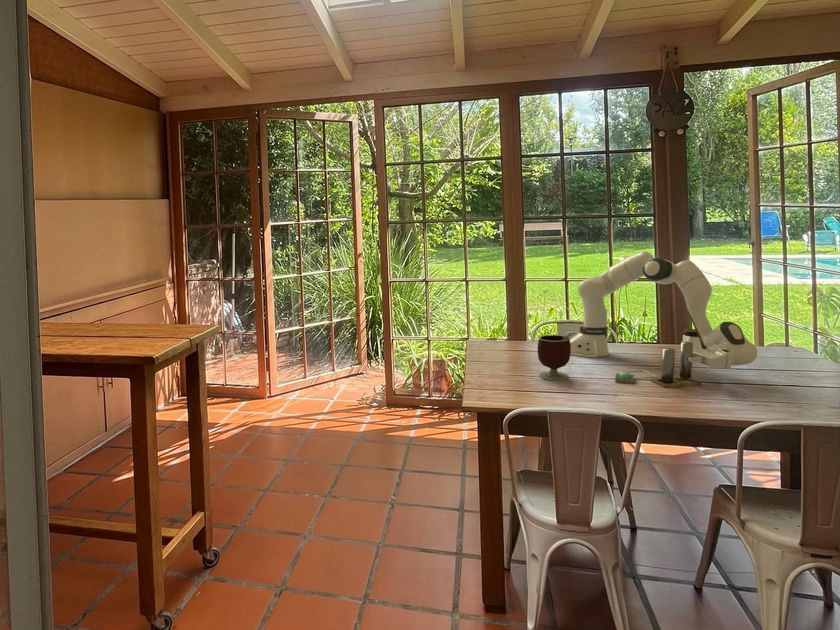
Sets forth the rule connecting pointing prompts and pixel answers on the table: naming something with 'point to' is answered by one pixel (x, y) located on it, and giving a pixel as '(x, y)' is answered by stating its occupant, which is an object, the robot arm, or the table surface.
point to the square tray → (643, 371)
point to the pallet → (677, 382)
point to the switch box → (624, 379)
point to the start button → (624, 375)
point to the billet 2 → (686, 360)
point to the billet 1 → (667, 365)
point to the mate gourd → (554, 355)
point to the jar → (692, 337)
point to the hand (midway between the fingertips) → (684, 357)
